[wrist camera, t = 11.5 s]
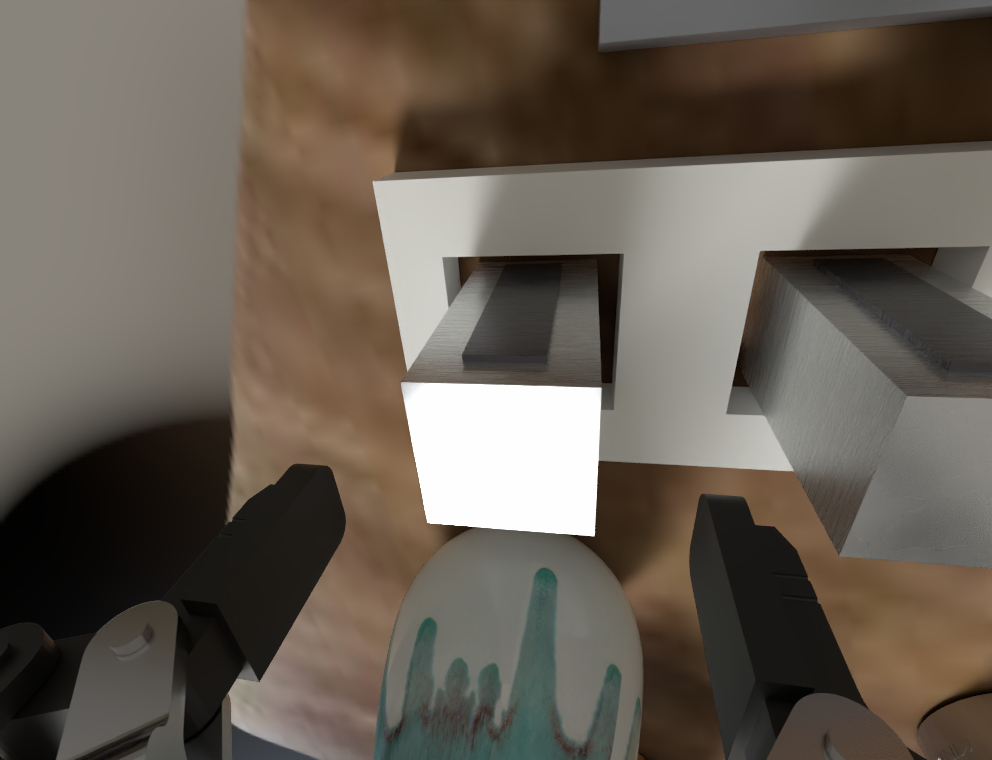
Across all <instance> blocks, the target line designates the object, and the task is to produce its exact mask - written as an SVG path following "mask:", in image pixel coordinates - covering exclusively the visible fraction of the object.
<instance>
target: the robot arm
mask: <svg viewBox="0 0 992 760" xmlns="http://www.w3.org/2000/svg"><path fill="white" fill-rule="evenodd" d="M345 525H346V517H345V512H344V508H343V505H342V502H341V498H340V495H339V492H338V488H337V485H336V482H335V478H334V475H333V472H332V470H331V468H330V467H328V466H324V465H310V464H294V465H292V466H291V467H290V468H289V469H288V470H287V471H286V472H285V473H284V475H283V476H282V477H281V478H280V479H279V481H278V482H277V483H276V484H275V485H271V484H270V485H269V486H267V487H266V488H265V489H263V490H262V491H260V492H259V493H257V494H256V495H254V496H253V497H252V498H250V499H249V500H248V501H247V502H246V503H245V504H244V505H243V507H242V508H241V509H240V510H239V511H238V512H237V513H236V515H235V516H234V517H233V520H232V522H229V523H228V524H227V525H226V526H225V527H224V528H223V530H222V531H221V532H220V533H219V537H218V538H215V539H214V540H213V541H212V542H211V543H210V544H209V546H208V547H207V548H206V549H205V550H204V551H203V553H202V554H201V555H200V556H199V557H198V558H197V559H196V561H195V562H194V563H193V564H192V565H191V566H190V567H189V569H188V570H187V571H186V572H185V573H184V574H183V575H182V577H181V578H180V579H179V580H178V581H177V583H175V585H174V586H173V587H172V588H171V589H170V591H169V592H168V593H167V594H166V595H165V596H164V597H163V598H162V599H161V600H160V601H151V602H146V603H143V604H140V605H137V606H134V607H132V608H130V609H128V610H126V611H124V612H123V613H121V614H119V615H118V616H116V617H115V618H113V619H112V620H111V621H109V622H108V623H107V624H106V625H105V626H104V627H102V628H101V629H100V630H99V631H98V632H97V633H92V634H87V635H82V636H76V637H71V638H66V639H60V640H54V641H53V640H52V639H51V638H50V637H49V636H48V635H47V633H46V632H45V631H44V630H43V629H42V628H41V626H39V625H37V624H35V623H20V624H16V625H12V626H8V627H6V628H3V629H1V630H0V756H1V757H2V760H232V742H231V702H230V697H229V695H228V692H229V690H230V689H231V687H232V685H233V684H234V682H235V681H236V679H237V678H238V679H244V680H250V681H256V682H260V680H261V678H262V677H263V675H264V673H265V672H266V670H267V668H268V666H269V665H270V663H271V661H272V659H273V658H274V656H275V654H276V653H277V651H278V649H279V647H280V646H281V644H282V642H283V640H284V639H285V637H286V635H287V634H288V632H289V630H290V628H291V627H292V625H293V623H294V622H295V620H296V618H297V616H298V615H299V613H300V611H301V609H302V608H303V606H304V604H305V603H306V601H307V599H308V597H309V596H310V594H311V592H312V590H313V589H314V587H315V585H316V584H317V582H318V580H319V578H320V577H321V575H322V573H323V572H324V570H325V568H326V566H327V565H328V563H329V561H330V559H331V558H332V556H333V554H334V553H335V551H336V549H337V547H338V546H339V544H340V542H341V540H342V538H343V535H344V531H345ZM689 563H690V576H691V582H692V587H693V592H694V598H695V603H696V608H697V613H698V618H699V623H700V629H701V634H702V639H703V644H704V649H705V654H706V660H707V665H708V670H709V675H710V680H711V685H712V691H713V696H714V701H715V706H716V711H717V716H718V722H719V727H720V732H721V737H722V742H723V747H724V753H725V758H726V760H926V759H927V760H992V693H989V694H983V695H978V696H974V697H970V698H967V699H963V700H959V701H957V702H954V703H952V704H949V705H947V706H945V707H942V708H941V709H939V710H937V711H936V712H934V713H933V714H931V715H929V716H928V717H927V718H926V719H925V720H924V721H923V722H922V723H921V725H920V727H919V729H918V732H917V741H918V743H919V745H920V747H921V749H922V751H923V753H924V755H925V757H926V759H925V758H923V757H921V756H920V755H918V754H917V753H915V752H913V751H912V750H910V749H909V748H908V747H906V746H905V744H904V743H903V742H902V740H901V739H900V738H899V736H898V735H897V734H896V733H895V732H894V731H893V730H892V729H891V728H890V726H889V725H887V724H886V723H885V722H884V721H883V720H882V719H881V718H880V717H878V716H877V715H876V714H874V713H873V712H872V711H870V710H869V709H868V707H867V706H866V704H865V703H864V701H863V699H862V697H861V695H860V693H859V691H858V689H857V687H856V685H855V682H854V680H853V678H852V675H851V673H850V671H849V669H848V666H847V664H846V662H845V659H844V657H843V655H842V653H841V650H840V648H839V646H838V644H837V641H836V639H835V637H834V634H833V632H832V630H831V628H830V625H829V623H828V621H827V619H826V616H825V614H824V612H823V609H822V607H821V605H820V604H818V602H817V596H816V593H815V591H814V589H813V587H812V584H811V582H810V581H808V575H807V573H806V571H805V568H804V566H803V564H802V562H801V559H800V557H799V555H798V553H797V550H796V549H795V548H794V547H793V546H792V545H791V544H790V543H789V542H788V541H787V539H786V538H785V537H784V536H783V535H782V534H781V533H780V532H779V531H778V530H777V529H776V528H775V527H771V526H758V525H755V524H754V521H753V518H752V515H751V513H750V510H749V507H748V505H747V502H746V500H745V499H744V498H743V497H740V496H726V495H712V494H702V495H701V496H700V498H699V503H698V508H697V513H696V519H695V524H694V529H693V535H692V540H691V545H690V556H689Z"/></svg>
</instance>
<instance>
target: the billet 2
mask: <svg viewBox="0 0 992 760" xmlns="http://www.w3.org/2000/svg"><path fill="white" fill-rule="evenodd" d="M739 369H740V371H741V373H742V375H743V377H744V379H745V381H746V382H747V384H748V386H749V388H750V390H751V392H752V394H753V395H754V397H755V399H756V401H757V403H758V405H759V407H760V409H761V410H762V412H763V414H764V416H765V418H766V420H767V422H768V424H769V425H770V427H771V429H772V431H773V433H774V435H775V437H776V439H777V440H778V442H779V444H780V446H781V448H782V450H783V452H784V454H785V455H786V457H787V459H788V461H789V463H790V465H791V467H792V468H793V470H794V472H795V474H796V476H797V478H798V480H799V482H800V483H801V485H802V487H803V489H804V491H805V493H806V495H807V497H808V498H809V500H810V502H811V504H812V506H813V508H814V510H815V512H816V513H817V515H818V517H819V519H820V521H821V523H822V525H823V526H824V528H825V530H826V532H827V534H828V536H829V538H830V540H831V541H832V543H833V545H834V547H835V549H836V551H837V553H838V555H839V556H845V557H857V558H869V559H881V560H894V561H906V562H918V563H930V564H943V565H955V566H967V567H979V568H991V569H992V298H991V297H989V296H987V295H985V294H983V293H982V292H980V291H978V290H976V289H974V288H972V287H970V286H968V285H966V284H964V283H962V282H960V281H958V280H956V279H954V278H952V277H951V276H949V275H947V274H945V273H943V272H941V271H939V270H937V269H935V268H933V267H931V266H929V265H927V264H925V263H923V262H921V261H919V260H918V259H916V258H914V257H912V256H910V255H908V254H896V255H839V256H781V257H762V262H761V267H760V272H759V276H758V281H757V286H756V291H755V295H754V300H753V305H752V309H751V314H750V319H749V324H748V328H747V333H746V338H745V343H744V347H743V352H742V357H741V362H740V366H739Z"/></svg>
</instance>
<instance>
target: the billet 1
mask: <svg viewBox="0 0 992 760" xmlns="http://www.w3.org/2000/svg"><path fill="white" fill-rule="evenodd" d="M401 387H402V392H403V397H404V403H405V408H406V413H407V418H408V423H409V428H410V433H411V439H412V444H413V449H414V454H415V459H416V464H417V469H418V474H419V480H420V485H421V490H422V495H423V500H424V505H425V510H426V516H427V521H428V523H438V524H450V525H463V526H475V527H487V528H500V529H512V530H525V531H537V532H549V533H562V534H574V535H586V536H595V515H596V495H597V474H598V453H599V433H600V412H601V392H602V383H601V356H600V329H599V302H598V275H597V260H548V261H494V262H479V263H478V264H477V266H476V267H475V269H474V270H473V272H472V273H471V275H470V276H469V278H468V280H467V281H466V283H465V284H464V286H463V287H462V289H461V290H460V292H459V293H458V295H457V296H456V298H455V299H454V301H453V303H452V304H451V306H450V307H449V309H448V310H447V312H446V313H445V315H444V316H443V318H442V319H441V321H440V322H439V324H438V326H437V327H436V329H435V330H434V332H433V333H432V335H431V336H430V338H429V339H428V341H427V342H426V344H425V345H424V347H423V349H422V350H421V352H420V353H419V355H418V356H417V358H416V359H415V361H414V362H413V364H412V365H411V367H410V368H409V370H408V372H407V373H406V375H405V376H404V378H403V379H402V381H401Z"/></svg>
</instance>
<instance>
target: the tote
mask: <svg viewBox="0 0 992 760" xmlns="http://www.w3.org/2000/svg"><path fill="white" fill-rule="evenodd" d="M983 17H992V0H599V28H598V53H602V52H613V51H624V50H635V49H646V48H657V47H668V46H679V45H689V44H700V43H711V42H722V41H733V40H744V39H755V38H766V37H777V36H787V35H798V34H809V33H820V32H831V31H842V30H853V29H864V28H874V27H885V26H896V25H907V24H918V23H929V22H940V21H951V20H962V19H972V18H983Z"/></svg>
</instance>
